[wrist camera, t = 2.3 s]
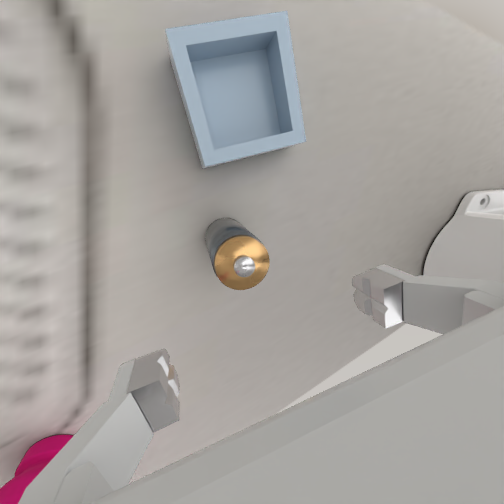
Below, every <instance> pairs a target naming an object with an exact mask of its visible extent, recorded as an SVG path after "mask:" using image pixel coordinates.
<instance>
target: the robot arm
mask: <svg viewBox="0 0 504 504" xmlns="http://www.w3.org/2000/svg"><path fill="white" fill-rule="evenodd" d="M352 285H353V286H354V287H355V288H356V290H355V292H354V294H353V295H354V301H355V303H356V305H357V307H358V308H359V309H360V311H362V312H363V313H364V314H367V315H372V318H373V320H374V321H376V322H377V323H378V324H380V325H381V326H383V327H384V328H388V327H391V326H393V325H396V324H398V323H401V322H403V321H404V323H408V324H411V325H415V326H418V327H421V328H424V329H428V330H431V331H435V332H438V333H441V334H443V335H441V336H439V337H437V338H435V339H433V340H431V341H429V342H427V343H425V344H423V345H420V346H418V347H416V348H414V349H412V350H410V351H408V352H406V353H403V354H401V355H399V356H397V357H395V358H393V359H391V360H389V361H386V362H384V363H382V364H380V365H378V366H376V367H374V368H372V369H370V370H367V371H365V372H363V373H361V374H359V375H357V376H355V377H353V378H351V379H349V380H347V381H345V382H342V383H340V384H338V385H336V386H334V387H332V388H330V389H328V390H326V391H323V392H321V393H319V394H317V395H315V396H313V397H311V398H309V399H307V400H305V401H303V402H301V403H298V404H296V405H294V406H292V407H290V408H288V409H286V410H284V411H282V412H280V413H277V414H275V415H273V416H271V417H269V418H267V419H265V420H263V421H261V422H259V423H256V424H254V425H252V426H250V427H248V428H246V429H244V430H242V431H240V432H238V433H235V434H233V435H231V436H229V437H227V438H225V439H223V440H221V441H219V442H217V443H215V444H212V445H210V446H208V447H206V448H204V449H202V450H200V451H198V452H196V453H194V454H191V455H189V456H187V457H185V458H183V459H181V460H179V461H177V462H175V463H173V464H170V465H168V466H166V467H164V468H162V469H160V470H158V471H156V472H154V473H152V474H149V475H147V476H145V477H143V478H141V479H139V480H137V481H135V482H133V483H131V484H129V485H128V483H129V481H130V479H131V478H132V476H133V474H134V472H135V470H136V468H137V466H138V464H139V462H140V460H141V458H142V456H143V454H144V452H145V450H146V448H147V446H148V444H149V442H150V441H151V439H152V437H153V435H154V433H153V432H156V431H158V430H160V429H162V428H164V427H166V426H168V425H170V424H172V423H174V422H177V421H179V401H178V399H177V395H178V394H179V380H178V375H177V372H176V370H175V367H174V366H173V365H171V364H169V362H170V356H169V354H168V352H167V350H166V349H161V350H158V351H156V352H153V353H150V354H147V355H144V356H142V357H139V358H137V359H133V360H131V361H128V362H126V363H123V364H122V365H121V366H120V368H119V371H118V374H117V377H116V380H115V382H114V385H113V388H112V391H111V394H110V397H109V400H108V402H105V403H103V404H102V405H101V406H100V407H99V409H98V410H97V411H96V412H95V413H94V414H93V415H92V416H91V417H90V418H89V420H88V421H87V422H86V423H85V424H84V425H83V426H82V427H81V428H80V429H79V431H78V432H77V433H76V434H75V435H74V436H73V437H72V438H71V439H70V440H69V441H68V443H67V444H66V445H65V446H64V447H63V448H62V449H61V450H60V451H59V452H58V454H57V455H56V456H55V457H54V458H53V459H52V460H51V461H50V462H49V463H48V465H47V466H46V467H45V468H44V469H43V470H42V471H41V472H40V473H39V474H38V475H37V477H36V478H35V479H34V480H33V481H32V482H31V483H30V484H29V485H28V486H27V488H26V489H25V491H24V493H23V495H22V497H21V499H20V501H19V503H18V504H504V189H498V190H486V191H475V192H470V193H468V194H467V195H466V196H465V197H464V198H463V200H462V202H461V203H460V205H459V207H458V209H457V211H456V213H455V215H454V217H453V218H452V219H451V220H450V222H449V223H448V224H447V225H446V226H445V227H444V228H443V229H442V231H441V232H440V233H439V235H438V236H437V238H436V239H435V241H434V242H433V244H432V246H431V248H430V250H429V253H428V255H427V258H426V262H425V266H424V273H423V275H419V276H414V275H411V274H409V273H406V272H404V271H401V270H399V269H396V268H394V267H391V266H388V265H380V266H378V267H375V268H373V269H371V270H369V271H366V272H364V273H361V274H359V275H356V276H354V277H353V279H352Z"/></svg>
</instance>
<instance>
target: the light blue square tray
mask: <svg viewBox="0 0 504 504" xmlns="http://www.w3.org/2000/svg"><path fill="white" fill-rule="evenodd" d="M165 32H166V39H167V45H168V52H169V57H170V61H171V64H172V67H173V71H174V74H175V77H176V81H177V84H178V88H179V91H180V94H181V98H182V101H183V104H184V108H185V111H186V115H187V118H188V121H189V125H190V128H191V131H192V135H193V138H194V142H195V145H196V148H197V152H198V155H199V158H200V162H201V165H202V169H204V168H208V167H212V166H216V165H220V164H224V163H227V162H231V161H235V160H239V159H243V158H247V157H251V156H255V155H259V154H263V153H267V152H271V151H275V150H279V149H283V148H287V147H291V146H294V145H297V144H300V143H303V142H306V137H305V130H304V124H303V117H302V110H301V103H300V96H299V89H298V82H297V75H296V69H295V62H294V55H293V48H292V41H291V34H290V27H289V20H288V14H287V11H282V12H276V13H269V14H262V15H256V16H249V17H242V18H235V19H229V20H222V21H215V22H209V23H202V24H195V25H188V26H182V27H175V28H168V29H165Z"/></svg>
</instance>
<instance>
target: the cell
mask: <svg viewBox="0 0 504 504" xmlns="http://www.w3.org/2000/svg"><path fill="white" fill-rule="evenodd" d="M205 241H206V245H207V248H208V252H209V255H210V259H211V262H212V266H213V269H214V272H215V274H216V275H217V277H218V278H219V280H220V281H221V282H222V283H223V284H224V285H226V286H227V287H229V288H232V289H236V290H245V289H249V288H252V287H254V286H256V285H257V284H258V283H260V282H261V281H262V280H263V278H264V277H265V275H266V274H267V271H268V268H269V255H268V252H267V250H266V248H265V247H264V245H263V243H262V242H261V241H260V240H259V239H258V238H256V237H255V236H254V235H253V234H252V233H250V232H249V231H248V230H247V229H246V228H244V227H243V226H242V225H241V224H240V223H239V222H237V221H236V220H234V219H231V218H221V219H218V220H216V221H214V222H213V223H212V224H211V225H210V226H209V227H208V229H207V231H206V235H205Z"/></svg>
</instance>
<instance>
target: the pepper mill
mask: <svg viewBox="0 0 504 504" xmlns="http://www.w3.org/2000/svg"><path fill="white" fill-rule="evenodd" d="M72 437H73V435H55V436H51V437H48V438H45V439H43V440H41V441H38V442H37V443H35V444H34V445H33V446H32V447H31V448H30V449H29V450H28V451H27V452H26V454H25V456H24V457H23V459H22V461H21V462H20V464H19V466H18V468H17V469H16V472H15V477H14V478H13V479H12V480H10V481H9V482H8V483H6V484H5V485H4V486H3V487H2V488H1V489H0V504H18V503H19V501H20V499H21V497H22V495H23V493H24V491H25V489H26V488H27V486H28V485H29V484H30V483H31V482H32V481H33V480H34V479H35V478H36V477H37V475H38V474H39V473H40V472H41V471H42V470H43V469H44V468H45V467H46V466H47V465H48V463H49V462H50V461H51V460H52V459H53V458H54V457H55V456H56V455H57V454H58V452H59V451H60V450H61V449H62V448H63V447H64V446H65V445H66V444H67V443H68V441H69V440H70V439H71V438H72Z"/></svg>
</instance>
